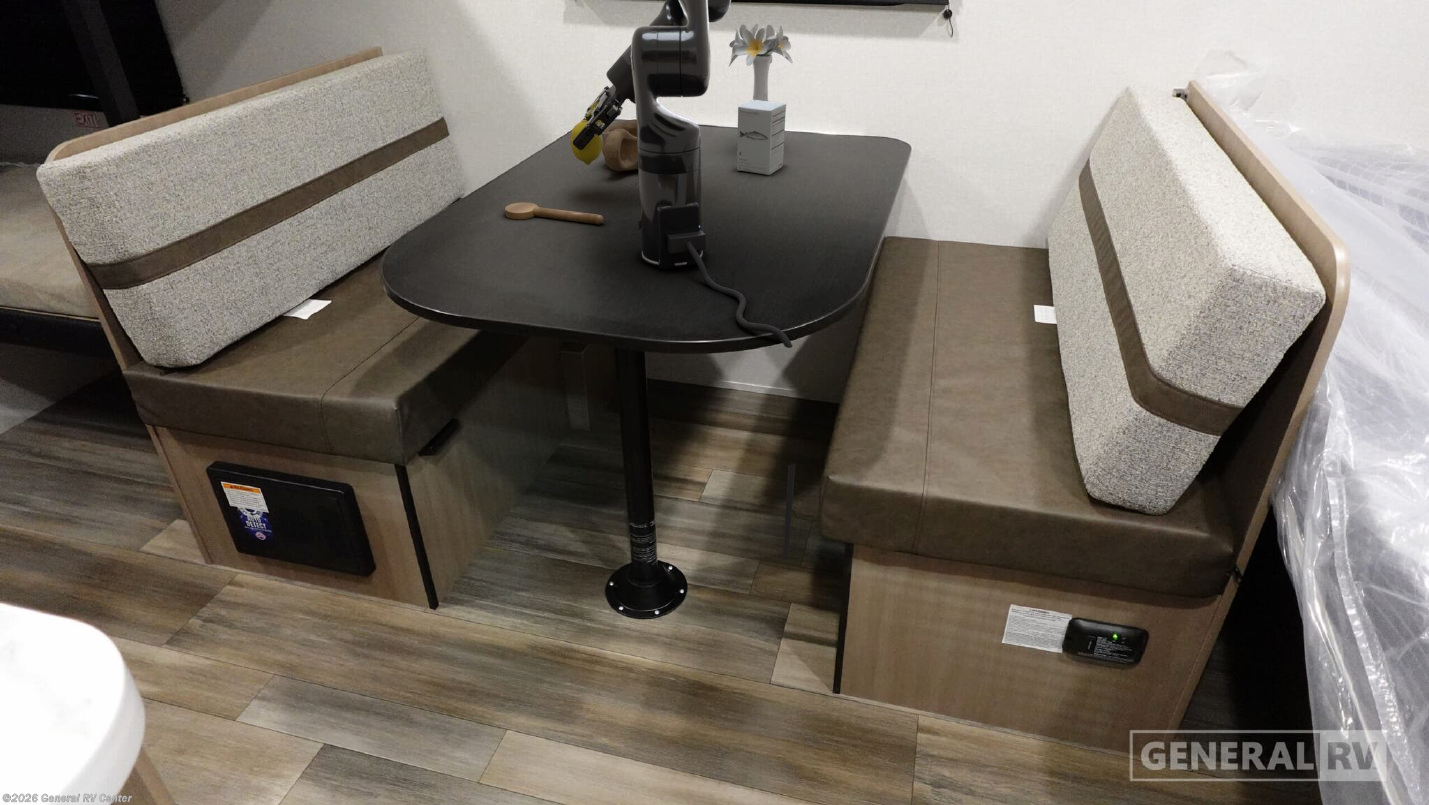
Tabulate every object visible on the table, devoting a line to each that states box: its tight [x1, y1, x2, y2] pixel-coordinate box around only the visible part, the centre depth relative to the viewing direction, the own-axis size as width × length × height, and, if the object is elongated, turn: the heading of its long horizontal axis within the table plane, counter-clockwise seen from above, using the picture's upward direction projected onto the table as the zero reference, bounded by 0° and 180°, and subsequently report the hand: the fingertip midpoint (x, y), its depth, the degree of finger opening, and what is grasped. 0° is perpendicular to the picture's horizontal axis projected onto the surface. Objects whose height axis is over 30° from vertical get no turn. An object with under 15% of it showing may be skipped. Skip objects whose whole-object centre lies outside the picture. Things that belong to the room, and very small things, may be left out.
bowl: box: [601, 118, 638, 172], centre depth 175 cm, size 18×14×10 cm
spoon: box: [504, 202, 604, 225], centre depth 152 cm, size 19×6×2 cm, turn 70°
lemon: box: [569, 119, 602, 166], centre depth 158 cm, size 6×6×8 cm
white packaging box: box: [736, 99, 787, 176], centre depth 174 cm, size 7×7×13 cm
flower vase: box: [728, 23, 793, 101], centre depth 184 cm, size 13×18×25 cm
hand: (576, 141), depth 157 cm, fingers closed on lemon, 5 cm apart
